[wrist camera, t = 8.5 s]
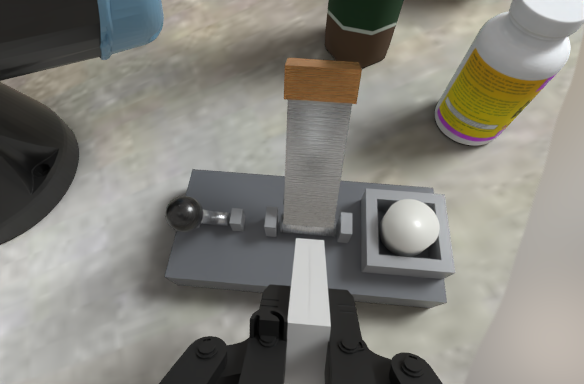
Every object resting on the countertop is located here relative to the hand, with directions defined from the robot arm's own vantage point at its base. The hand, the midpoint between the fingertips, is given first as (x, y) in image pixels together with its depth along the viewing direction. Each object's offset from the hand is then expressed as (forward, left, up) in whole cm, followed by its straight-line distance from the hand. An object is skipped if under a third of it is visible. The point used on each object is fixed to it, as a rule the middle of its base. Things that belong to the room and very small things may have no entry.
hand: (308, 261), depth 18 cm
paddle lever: (+3, +3, -5) cm, 7 cm away
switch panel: (+3, +3, -9) cm, 10 cm away
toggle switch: (-3, +8, -5) cm, 10 cm away
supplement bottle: (+24, +4, -9) cm, 26 cm away
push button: (+8, -1, -5) cm, 10 cm away
